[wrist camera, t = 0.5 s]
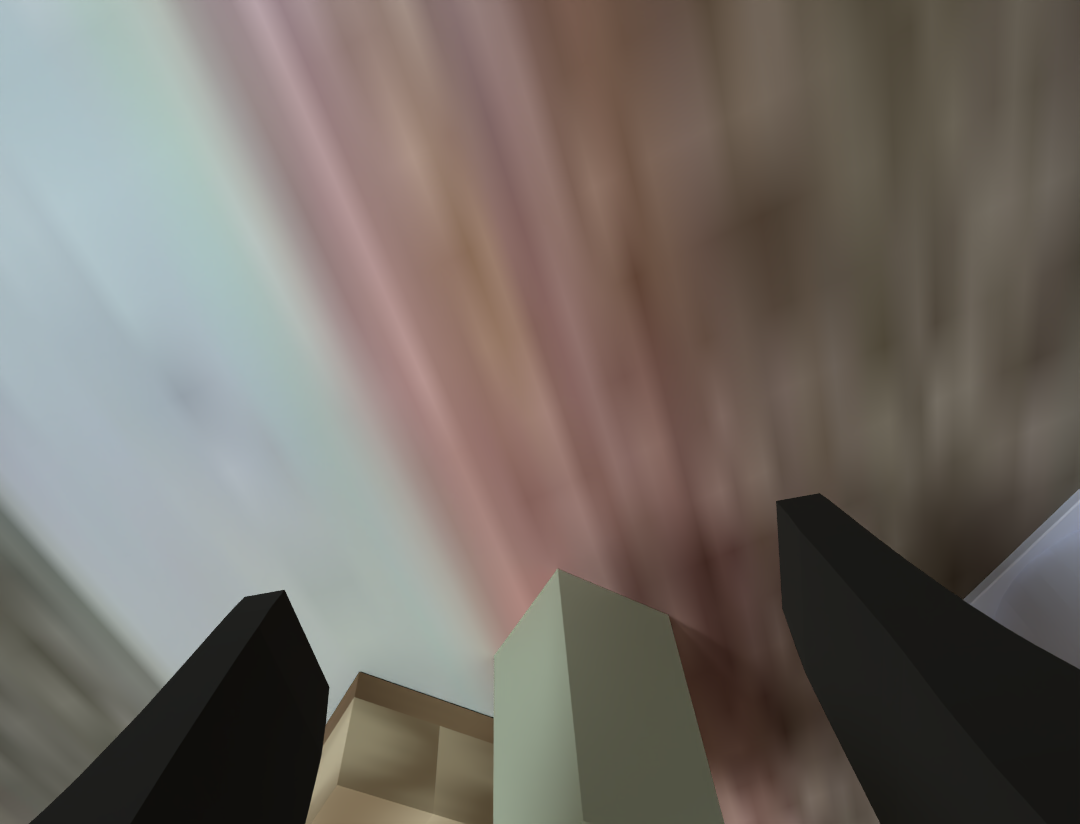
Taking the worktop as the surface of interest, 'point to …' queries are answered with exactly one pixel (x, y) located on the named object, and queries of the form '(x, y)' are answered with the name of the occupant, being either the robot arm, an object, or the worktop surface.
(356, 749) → the well block
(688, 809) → the sage peg
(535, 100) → the worktop surface
